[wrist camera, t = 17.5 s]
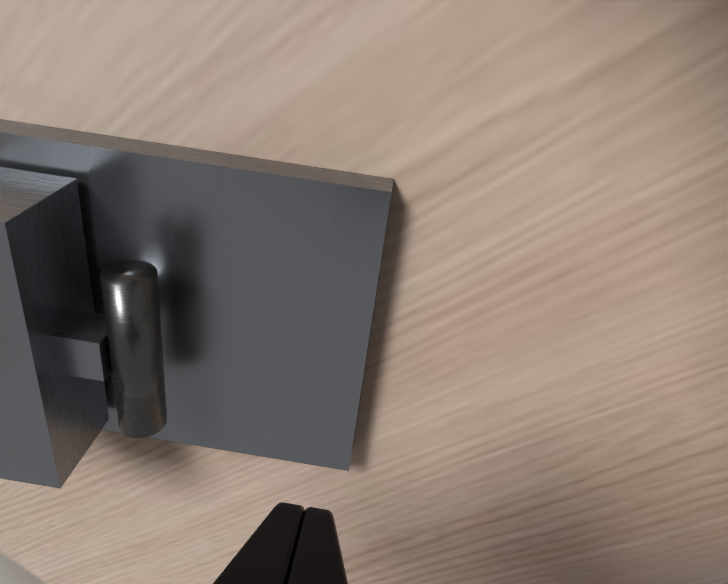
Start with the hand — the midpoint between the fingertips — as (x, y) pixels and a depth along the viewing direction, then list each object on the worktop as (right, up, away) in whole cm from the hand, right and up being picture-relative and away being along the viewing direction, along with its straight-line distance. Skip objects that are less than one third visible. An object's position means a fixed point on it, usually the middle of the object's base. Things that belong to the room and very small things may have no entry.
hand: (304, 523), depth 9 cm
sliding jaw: (-9, +3, +12) cm, 15 cm away
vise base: (-10, +4, +13) cm, 17 cm away
